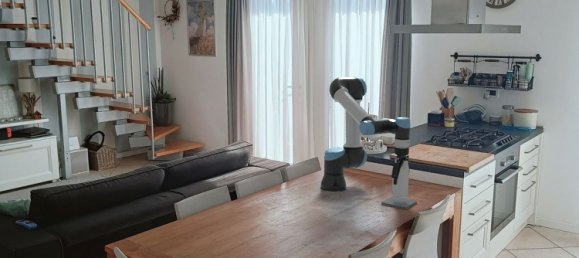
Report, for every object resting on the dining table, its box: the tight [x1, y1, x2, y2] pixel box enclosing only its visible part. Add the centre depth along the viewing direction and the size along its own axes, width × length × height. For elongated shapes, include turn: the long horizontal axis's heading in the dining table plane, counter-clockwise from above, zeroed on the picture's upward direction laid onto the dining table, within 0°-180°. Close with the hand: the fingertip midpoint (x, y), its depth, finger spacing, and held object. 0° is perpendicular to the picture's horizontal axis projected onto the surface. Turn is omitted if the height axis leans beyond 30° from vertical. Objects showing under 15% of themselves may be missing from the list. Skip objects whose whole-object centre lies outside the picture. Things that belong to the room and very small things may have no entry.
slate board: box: [381, 195, 418, 211], centre depth 280 cm, size 14×14×1 cm
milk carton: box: [391, 161, 410, 198], centre depth 277 cm, size 7×7×19 cm
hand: (400, 188), depth 278 cm, fingers closed on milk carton, 10 cm apart
